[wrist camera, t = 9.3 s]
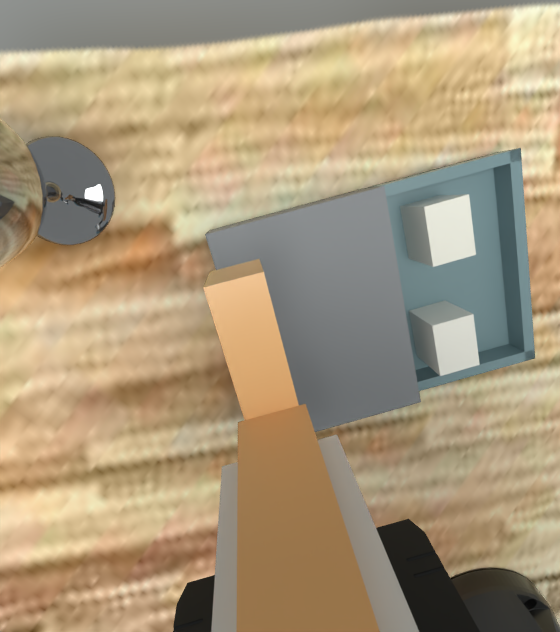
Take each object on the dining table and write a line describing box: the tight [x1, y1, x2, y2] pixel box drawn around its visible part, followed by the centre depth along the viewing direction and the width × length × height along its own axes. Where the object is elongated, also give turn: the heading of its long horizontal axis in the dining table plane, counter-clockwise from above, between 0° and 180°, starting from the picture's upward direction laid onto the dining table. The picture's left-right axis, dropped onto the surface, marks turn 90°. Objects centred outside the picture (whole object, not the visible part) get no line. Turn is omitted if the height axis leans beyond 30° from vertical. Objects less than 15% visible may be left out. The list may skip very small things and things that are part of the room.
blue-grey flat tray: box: [368, 148, 535, 391], centre depth 30 cm, size 16×10×2 cm, turn 14°
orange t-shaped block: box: [203, 259, 380, 632], centre depth 12 cm, size 14×2×11 cm, turn 14°
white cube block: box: [409, 301, 480, 376], centre depth 30 cm, size 4×4×3 cm
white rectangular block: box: [400, 194, 476, 267], centre depth 28 cm, size 4×4×3 cm
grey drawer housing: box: [205, 186, 421, 432], centre depth 29 cm, size 16×12×4 cm
